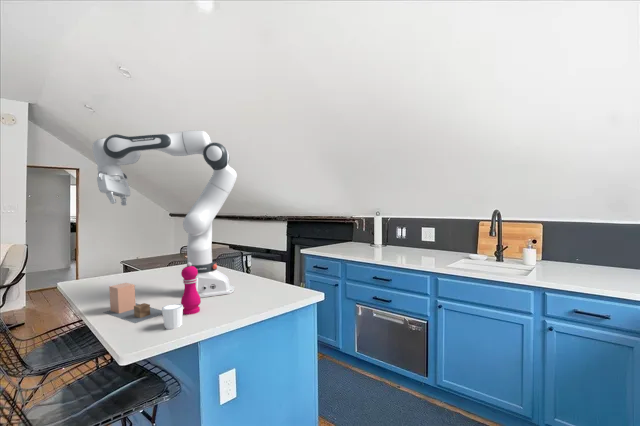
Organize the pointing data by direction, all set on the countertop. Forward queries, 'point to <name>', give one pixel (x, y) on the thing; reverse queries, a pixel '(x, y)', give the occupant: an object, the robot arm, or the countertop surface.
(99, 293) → the countertop surface
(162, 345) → the countertop surface
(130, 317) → the mat
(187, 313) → the pepper mill
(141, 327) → the countertop surface
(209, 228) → the robot arm
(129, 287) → the tan rectangular block
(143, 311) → the block
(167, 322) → the white cup
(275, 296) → the countertop surface
